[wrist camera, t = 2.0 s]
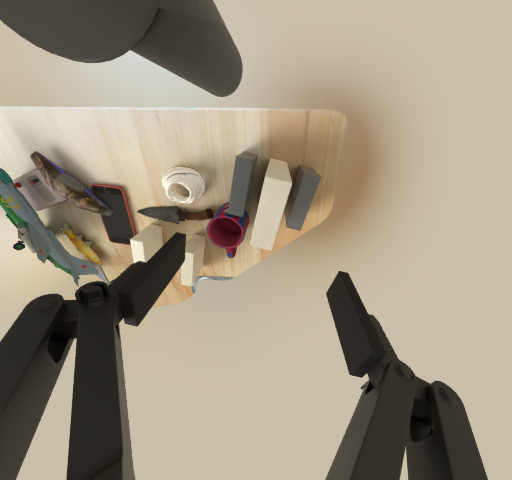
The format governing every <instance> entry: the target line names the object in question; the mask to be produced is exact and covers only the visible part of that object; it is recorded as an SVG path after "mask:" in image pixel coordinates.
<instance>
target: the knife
mask: <svg viewBox="0 0 512 480" xmlns="http://www.w3.org/2000/svg"><path fill="white" fill-rule="evenodd" d="M137 212H138V213H141V214H143V215H146V216H149V217H152V218H155V219H156V218H158V219H159V220H163V221H169V222H173V223H177V224H179V221H186V220H185V219H187V220H189V219H190V220H205V219H211V218H213V217H214V214H213V212H212V210H211V209H206V210H205V211H203V212H200V213H189V212H185V209H184V210H181V209H178V208H177V206H172V207H160V208H159V207H158V208H154V207H153V208H147V209H143V210H139V211H137Z"/></svg>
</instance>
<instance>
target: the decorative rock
mask: <svg viewBox="0 0 512 480" xmlns="http://www.w3.org/2000/svg"><path fill="white" fill-rule="evenodd" d="M30 157H31V159H32V161H33V162H34V164H35V165H36V167H37V168H38V170H39V171H40V172H41V174H42V177H43V178H44V180H45V181H46V183H47V184H48V185H49V187H50V188H51V189H52V190H53V191H54V192H56V193H57V194H58V195H59V196H61V197H63V198H65V199H67V200H68V201H70V202H72V203H73V204H74V205H75V206H77V207H79V208H81V209H84V210H89V211H92V212H95V213H98V214H102V215H107V216H111V215H112V214H113V213H114V212H113V211H112V210H111V209H110V208H109V207H108V206H107V205H106V204H104V203H103V202H102V201H101V200H100V199H98V198H97V197H96V196H95V195H94V194H93V193H92V192H91V191H90V190H89V189H88V188H86V187H85V186H84V185H83V184H82V183H81V182H80V181H78V180H77V179H76V178H75V177H73V176H71V175H70V174H68V173H66V172H65V171H63V170H62V169H61V168H59V167H58V166H56V165H55V164H53V163H52V162H51V161H49V160H48V159H47V158H45V157H44V156H43V155H41V154H40V153H38V152H37V151H35V152H34V153H33V154H32V155H31V156H30Z"/></svg>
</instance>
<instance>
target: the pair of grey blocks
mask: <svg viewBox="0 0 512 480" xmlns="http://www.w3.org/2000/svg"><path fill="white" fill-rule="evenodd" d="M257 156H258V155H256V154H251V153H247V152H243V153H241V154H240V155H238V156H236V161H235V168H234V175H233V182H232V189H231V196H230V203H229V210H228V214H232V215H236V216H240V217H243V215H244V212H245V210H246V207H247V205H248V202H249V197H250V192H251V187H252V182H253V176H254V171H255V166H256V161H257ZM320 178H321V177H320V176H319V175H318V174H317V172H316V171H315V170H314V169H313V168H309V167H305V166H301V165H300V166H299V168H298V172H297V175H296V178H295V181H294V184H293V188H292V191H291V194H290V197H289V201H288V204H287V207H286V210H285V217H286V227H287V228H291V229H295V230H301V228H302V225H303V223H304V220H305V218H306V215H307V212H308V210H309V207H310V204H311V202H312V199H313V197H314V194H315V191H316V189H317V186H318V183H319V181H320Z"/></svg>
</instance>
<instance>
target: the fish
mask: <svg viewBox="0 0 512 480" xmlns="http://www.w3.org/2000/svg"><path fill="white" fill-rule="evenodd" d="M63 226H64V228H62V227H59V230H61V231H62V232H64V233H65V234H67V235H68V237H69V239H70V240H71V241H72V243H73V244H74V245H75V246H76V247H77V249H78V251H80V252H82V253H84V254H85V255H86V256H87V257H88V258H90V259H91V260H92V261H94V262H96V263H98V264H100V265H103V264H102V262H101V260H100V258H99V257H98V255H97V254H96V253H95V252H94V251H93V250H92V249H91V248H90V245H91V243H92V241H86V242H84V241H83V240H82V239H81V238H82V236H83V235H81V234H79V235H78V236H76V235H75V234H73V232H72V231H71V229H70V228H69V227H68V226H67V224H65V223H64V224H63Z"/></svg>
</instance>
